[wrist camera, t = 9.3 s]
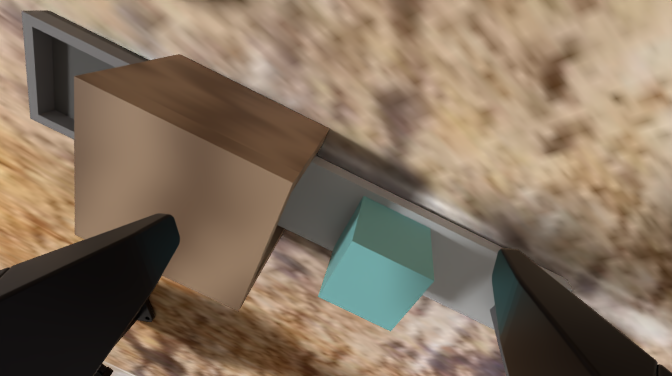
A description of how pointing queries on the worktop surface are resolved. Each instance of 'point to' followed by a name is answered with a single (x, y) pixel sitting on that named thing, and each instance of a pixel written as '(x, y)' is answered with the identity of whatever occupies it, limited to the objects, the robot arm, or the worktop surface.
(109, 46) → the pit
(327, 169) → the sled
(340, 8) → the worktop surface
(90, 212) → the tunnel
